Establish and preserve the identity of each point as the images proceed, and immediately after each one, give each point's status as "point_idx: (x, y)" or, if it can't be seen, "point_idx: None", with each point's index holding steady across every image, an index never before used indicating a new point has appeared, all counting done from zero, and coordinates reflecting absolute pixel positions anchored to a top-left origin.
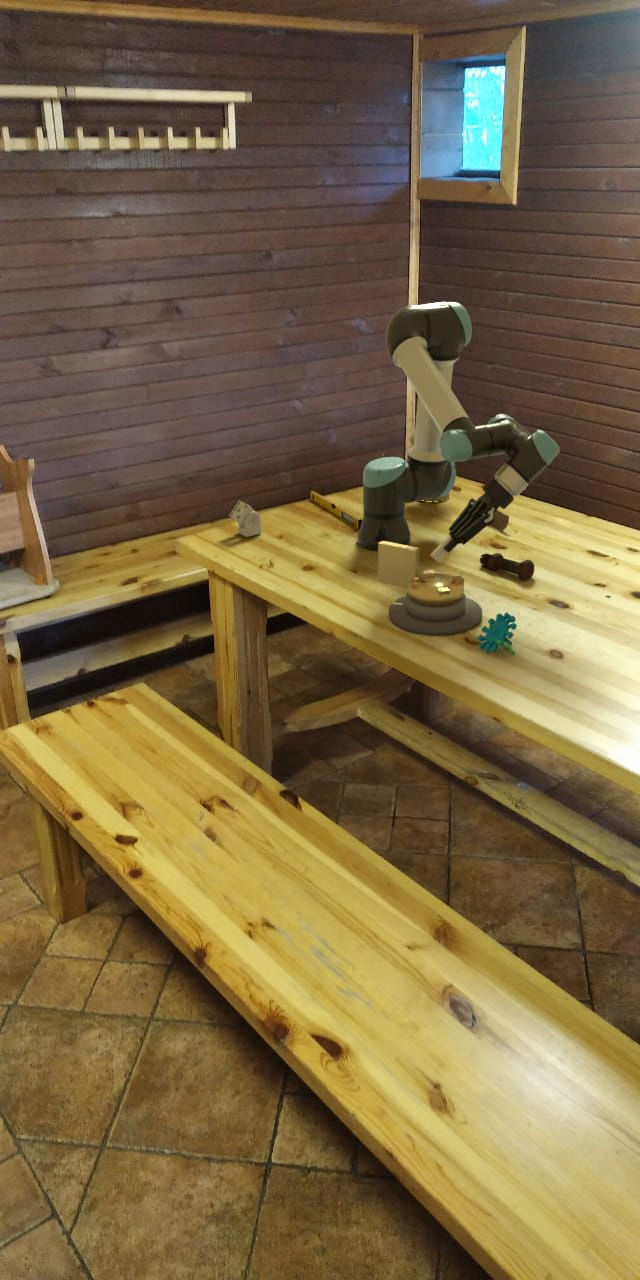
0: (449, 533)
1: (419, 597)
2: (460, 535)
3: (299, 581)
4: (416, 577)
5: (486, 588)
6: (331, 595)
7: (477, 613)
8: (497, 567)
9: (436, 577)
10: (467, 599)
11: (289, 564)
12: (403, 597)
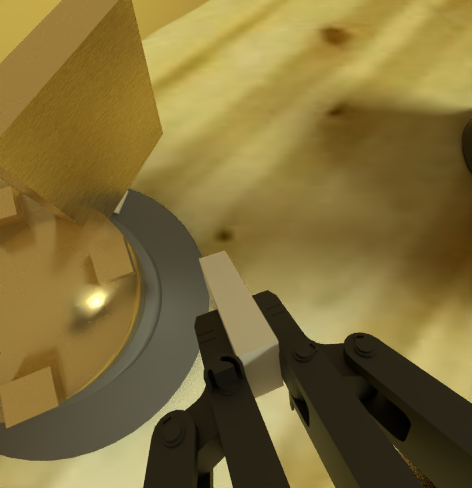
0: (302, 341)
1: None
2: (159, 465)
3: (266, 24)
4: (58, 214)
5: (292, 448)
6: (202, 76)
7: (39, 443)
8: (435, 486)
9: (87, 292)
10: (156, 398)
11: (345, 8)
12: (165, 212)
